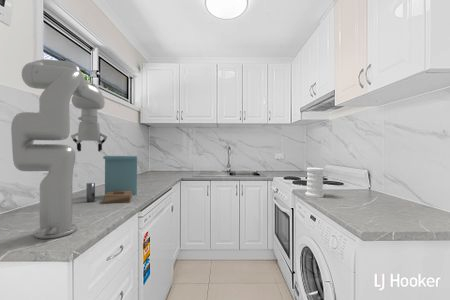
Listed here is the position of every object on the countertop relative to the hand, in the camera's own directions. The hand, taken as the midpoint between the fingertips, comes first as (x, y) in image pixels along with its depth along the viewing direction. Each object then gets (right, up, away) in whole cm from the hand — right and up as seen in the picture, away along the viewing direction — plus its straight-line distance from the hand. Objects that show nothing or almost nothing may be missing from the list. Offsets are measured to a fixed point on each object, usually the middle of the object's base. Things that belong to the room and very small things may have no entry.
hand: (89, 151), depth 128 cm
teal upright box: (+10, -27, +15) cm, 33 cm away
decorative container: (+133, -30, +28) cm, 140 cm away
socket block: (+13, -28, +5) cm, 31 cm away
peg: (0, -28, +1) cm, 28 cm away
